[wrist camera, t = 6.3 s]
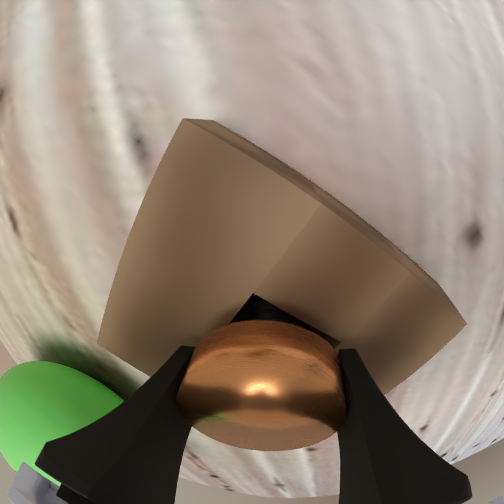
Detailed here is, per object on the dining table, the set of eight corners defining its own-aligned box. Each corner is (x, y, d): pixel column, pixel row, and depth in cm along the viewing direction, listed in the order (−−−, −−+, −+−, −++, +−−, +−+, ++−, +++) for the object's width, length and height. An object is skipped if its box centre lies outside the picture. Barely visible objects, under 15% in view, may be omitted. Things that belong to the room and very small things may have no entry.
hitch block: (438, 284, 12) (466, 324, 9) (306, 400, 17) (306, 440, 14) (212, 120, 10) (183, 118, 7) (124, 306, 16) (97, 343, 12)
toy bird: (115, 328, 17) (10, 501, 4) (205, 444, 23) (174, 559, 10) (15, 330, 21) (-53, 413, 8) (92, 423, 27) (54, 500, 14)
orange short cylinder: (353, 292, 11) (380, 388, 6) (306, 374, 13) (305, 457, 9) (223, 255, 11) (181, 343, 6) (203, 348, 13) (173, 429, 9)
